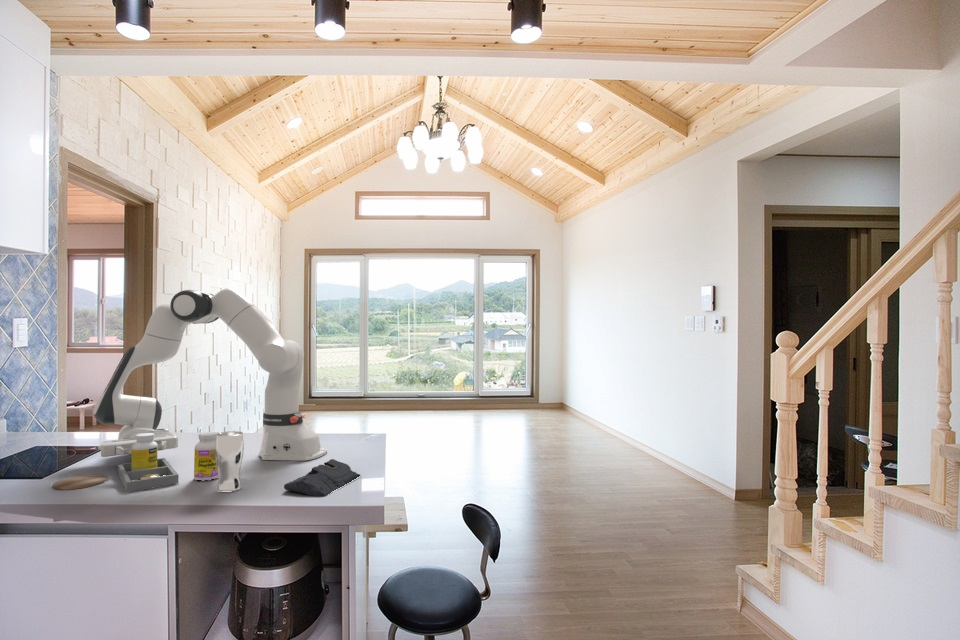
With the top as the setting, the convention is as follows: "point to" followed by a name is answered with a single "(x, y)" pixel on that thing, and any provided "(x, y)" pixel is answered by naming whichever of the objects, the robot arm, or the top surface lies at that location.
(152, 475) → the gold dome knob
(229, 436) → the shiny silver flared piece
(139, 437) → the pill bottle
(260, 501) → the top surface
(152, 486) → the parts tray
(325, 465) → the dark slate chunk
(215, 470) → the supplement bottle
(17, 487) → the top surface
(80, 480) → the walnut coaster
